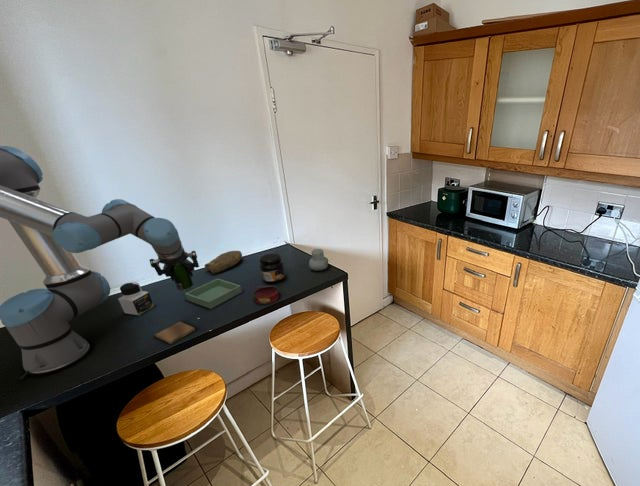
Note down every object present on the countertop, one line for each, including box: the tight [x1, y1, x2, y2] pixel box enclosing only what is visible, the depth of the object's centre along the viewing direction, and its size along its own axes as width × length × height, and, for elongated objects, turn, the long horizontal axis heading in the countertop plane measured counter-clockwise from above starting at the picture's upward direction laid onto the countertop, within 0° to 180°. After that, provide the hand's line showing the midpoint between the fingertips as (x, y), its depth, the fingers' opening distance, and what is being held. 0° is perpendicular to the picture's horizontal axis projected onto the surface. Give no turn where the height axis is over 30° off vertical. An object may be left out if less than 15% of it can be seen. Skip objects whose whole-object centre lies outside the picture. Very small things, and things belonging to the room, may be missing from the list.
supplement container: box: [258, 252, 286, 285], centre depth 150 cm, size 10×10×12 cm
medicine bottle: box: [117, 281, 155, 316], centre depth 126 cm, size 7×7×12 cm
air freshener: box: [308, 248, 329, 272], centre depth 161 cm, size 11×8×10 cm
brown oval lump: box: [204, 250, 243, 275], centre depth 165 cm, size 13×8×20 cm
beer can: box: [170, 263, 194, 292], centre depth 118 cm, size 5×5×12 cm
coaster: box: [154, 321, 196, 344], centre depth 115 cm, size 9×9×1 cm
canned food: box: [251, 284, 280, 305], centre depth 136 cm, size 11×10×10 cm
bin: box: [184, 278, 243, 310], centre depth 138 cm, size 16×16×3 cm
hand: (182, 275), depth 122 cm, fingers closed on beer can, 5 cm apart
